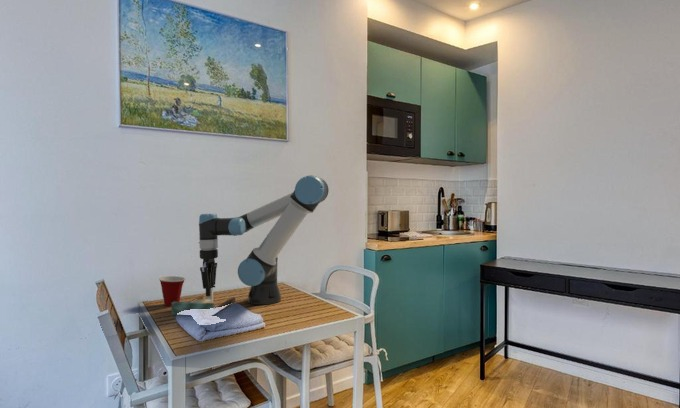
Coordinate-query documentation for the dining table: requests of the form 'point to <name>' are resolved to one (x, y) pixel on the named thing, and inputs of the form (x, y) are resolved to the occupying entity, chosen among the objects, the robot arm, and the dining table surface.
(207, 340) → the dining table surface
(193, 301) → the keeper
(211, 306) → the guide track
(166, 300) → the plastic cup
